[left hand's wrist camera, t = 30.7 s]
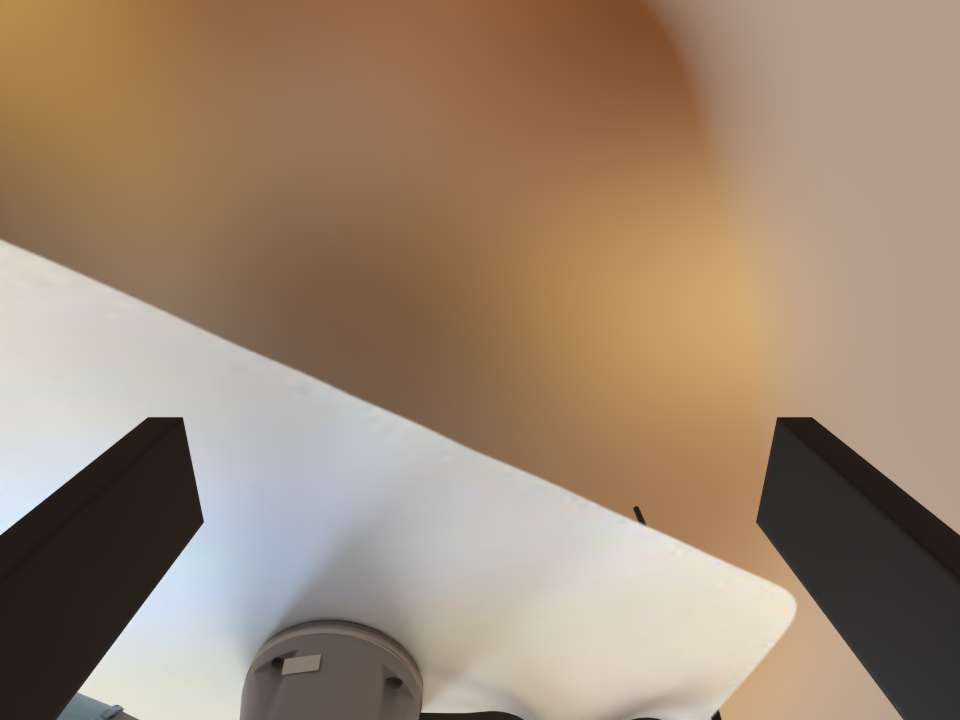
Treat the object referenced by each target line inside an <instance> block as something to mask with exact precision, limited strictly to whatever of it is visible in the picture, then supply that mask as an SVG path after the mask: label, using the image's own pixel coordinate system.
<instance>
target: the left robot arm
mask: <svg viewBox="0 0 960 720" xmlns="http://www.w3.org/2000/svg"><path fill="white" fill-rule="evenodd" d="M633 510H634V512H635V515H636V517H637V520H638V522H639V523H640V524H642V525H644V526H647V525H646V523H645V521H644V518H643V516H642V513H641V511H640V509H639V507H638V506H635V507H634V508H633ZM203 523H204V520H203V515H202V511H201V506H200V501H199V496H198V491H197V486H196V481H195V476H194V471H193V466H192V461H191V456H190V451H189V446H188V441H187V436H186V431H185V426H184V421H183V417H148V418H147V419H145V420H144V421H143V422H142V423H140V424H139V425H138V426H137V427H135V428H134V429H133V430H132V431H130V432H129V433H128V434H127V435H125V436H124V437H123V438H122V439H120V440H119V441H118V442H117V443H115V444H114V445H113V446H112V447H110V448H109V449H108V450H107V451H105V452H104V453H103V454H102V455H100V456H99V457H98V458H97V459H95V460H94V461H93V462H92V463H90V464H89V465H88V466H87V467H85V468H84V469H83V470H82V471H80V472H79V473H78V474H77V475H75V476H74V477H73V478H72V479H70V480H69V481H68V482H67V483H65V484H64V485H63V486H62V487H60V488H59V489H58V490H56V491H55V492H54V493H53V494H51V495H50V496H49V497H48V498H46V499H45V500H44V501H43V502H41V503H40V504H39V505H38V506H36V507H35V508H34V509H33V510H31V511H30V512H29V513H28V514H26V515H25V516H24V517H23V518H21V519H20V520H19V521H18V522H16V523H15V524H14V525H13V526H11V527H10V528H9V529H8V530H6V531H5V532H4V533H3V534H1V535H0V720H138V719H136V718H134V717H132V716H130V715H128V714H126V713H124V712H122V711H123V710H124V708H122V707H121V706H119V705H114V706H109V705H107V704H105V703H102V702H100V701H97V700H95V699H92V698H90V697H87V696H85V695H82V694H80V693H77V691H78V690H79V689H80V687H81V686H82V685H83V683H84V682H85V681H86V679H87V678H88V677H89V675H90V674H91V673H92V671H93V670H94V669H95V667H96V666H97V665H98V663H99V662H100V661H101V659H102V658H103V657H104V655H105V654H106V653H107V651H108V650H109V649H110V647H111V646H112V645H113V643H114V642H115V641H116V639H117V638H118V637H119V635H120V634H121V633H122V631H123V630H124V628H125V627H126V626H127V624H128V623H129V622H130V620H131V619H132V618H133V616H134V615H135V614H136V612H137V611H138V610H139V608H140V607H141V606H142V604H143V603H144V602H145V600H146V599H147V598H148V596H149V595H150V594H151V592H152V591H153V590H154V588H155V587H156V586H157V584H158V583H159V582H160V580H161V579H162V578H163V576H164V575H165V574H166V572H167V571H168V570H169V568H170V567H171V566H172V564H173V563H174V561H175V560H176V559H177V557H178V556H179V555H180V553H181V552H182V551H183V549H184V548H185V547H186V545H187V544H188V543H189V541H190V540H191V539H192V537H193V536H194V535H195V533H196V532H197V531H198V529H199V528H200V527H201V525H202V524H203ZM756 523H757V524H758V525H759V527H760V528H761V529H762V531H763V532H764V533H765V535H766V536H767V537H768V539H769V540H770V541H771V543H772V544H773V545H774V547H775V548H776V549H777V551H778V552H779V553H780V555H781V556H782V557H783V559H784V560H785V561H786V563H787V564H788V565H789V567H790V568H791V569H792V571H793V572H794V574H795V575H796V576H797V577H798V579H799V580H800V582H801V583H802V584H803V586H804V587H805V588H806V590H807V591H808V592H809V594H810V595H811V596H812V598H813V599H814V600H815V602H816V603H817V604H818V606H819V607H820V608H821V610H822V611H823V612H824V614H825V615H826V616H827V618H828V619H829V620H830V622H831V623H832V624H833V626H834V627H835V628H836V630H837V631H838V632H839V634H840V635H841V636H842V638H843V639H844V640H845V642H846V643H847V645H848V646H849V647H850V649H851V650H852V651H853V653H854V654H855V655H856V657H857V658H858V659H859V661H860V662H861V663H862V665H863V666H864V667H865V669H866V670H867V671H868V673H869V674H870V675H871V677H872V678H873V679H874V681H875V682H876V683H877V685H878V686H879V687H880V689H881V690H882V691H883V693H884V694H885V695H886V697H887V698H888V699H889V701H890V702H891V704H892V705H893V706H894V708H895V709H896V710H897V711H898V713H899V714H900V716H901V717H902V718H903V720H960V535H959V534H957V533H956V532H955V531H954V530H952V529H951V528H950V527H949V526H947V525H946V524H945V523H944V522H942V521H941V520H940V519H939V518H937V517H936V516H935V515H934V514H932V513H931V512H930V511H929V510H927V509H926V508H925V507H924V506H922V505H921V504H920V503H919V502H917V501H916V500H915V499H914V498H912V497H911V496H910V495H909V494H907V493H906V492H905V491H903V490H902V489H901V488H900V487H898V486H897V485H896V484H895V483H893V482H892V481H891V480H890V479H888V478H887V477H886V476H885V475H883V474H882V473H881V472H880V471H878V470H877V469H876V468H875V467H873V466H872V465H871V464H870V463H868V462H867V461H866V460H865V459H863V458H862V457H861V456H860V455H858V454H857V453H856V452H855V451H853V450H852V449H851V448H850V447H848V446H847V445H846V444H845V443H843V442H842V441H841V440H840V439H838V438H837V437H836V436H835V435H833V434H832V433H831V432H830V431H828V430H827V429H826V428H825V427H823V426H822V425H821V424H820V423H818V422H817V421H816V420H815V419H813V418H812V417H778V418H777V421H776V426H775V431H774V436H773V441H772V446H771V451H770V456H769V461H768V466H767V471H766V476H765V481H764V486H763V491H762V496H761V501H760V506H759V511H758V516H757V520H756ZM422 698H423V683H422V678H421V675H420V672H419V670H418V668H417V666H416V664H415V662H414V661H413V659H412V658H411V656H410V655H409V654H408V653H407V652H406V651H405V650H404V649H403V648H402V647H401V646H400V645H399V644H398V643H396V642H395V641H394V640H392V639H391V638H389V637H387V636H386V635H384V634H382V633H380V632H378V631H376V630H374V629H371V628H368V627H365V626H362V625H359V624H354V623H350V622H342V621H315V622H309V623H304V624H300V625H296V626H293V627H291V628H288V629H286V630H284V631H282V632H280V633H278V634H277V635H275V636H274V637H272V638H271V639H270V640H268V641H267V642H266V643H265V644H264V645H263V646H262V647H261V649H260V650H259V651H258V653H257V654H256V656H255V658H254V660H253V662H252V664H251V667H250V669H249V671H248V673H247V676H246V679H245V683H244V687H243V691H242V697H241V709H240V720H523V719H522V718H520V717H517V716H515V715H512V714H509V713H505V712H498V711H487V712H476V713H421V707H422ZM633 720H660V719H656V718H637V719H633ZM711 720H722V719H721V715H720V712H719V709H718V710H717V711H716V712H715V713H714V714H713V716H712V717H711Z"/></svg>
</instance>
